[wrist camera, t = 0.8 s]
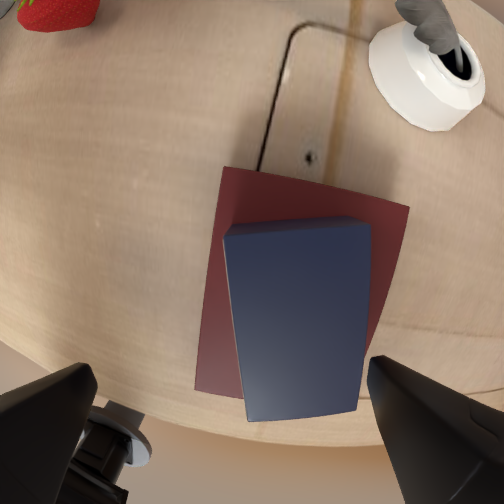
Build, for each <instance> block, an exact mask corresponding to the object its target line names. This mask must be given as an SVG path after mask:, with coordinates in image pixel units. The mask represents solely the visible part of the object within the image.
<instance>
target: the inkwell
mask: <svg viewBox="0 0 504 504" xmlns="http://www.w3.org/2000/svg"><path fill="white" fill-rule="evenodd" d="M395 6H396V8H397V10H398V12H399V14H400V15H401V16H402V17H403V18H404V19H405V20H404V21H402V22H399V23H397V24H394V25H392V26H389V27H387V28H385V29H383V30H380V31H378V33H377V34H376V36H375V37H374V38H373V40H372V41H371V43H370V44H369V67H370V70H371V72H372V75H373V78H374V81H375V84H376V87H377V88H378V90H379V91H380V92H381V94H382V95H383V96H384V98H385V99H386V101H387V102H388V103H389V105H390V106H391V108H393V109H394V110H395V111H396V112H397V113H399V114H400V115H401V116H402V117H403V118H405V119H406V120H407V121H408V122H409V123H410V124H413V125H415V126H418V127H420V128H423V129H426V130H428V131H431V132H432V131H448V130H450V129H451V128H452V127H454V126H455V125H456V124H458V123H459V122H460V121H461V120H463V119H464V118H465V117H466V116H467V115H469V114H470V113H471V112H472V111H473V110H474V109H475V108H476V107H477V106H478V105H479V104H480V103H481V102H482V99H483V96H484V93H485V90H486V89H485V78H484V72H483V70H482V67H481V64H480V62H479V59H478V57H477V55H476V54H475V52H474V50H473V49H472V47H471V46H470V45H469V43H468V42H467V41H466V39H464V38H463V37H462V36H461V35H460V34H459V33H458V32H457V31H456V28H455V26H454V24H453V21H452V19H451V17H450V15H449V13H448V11H447V9H446V7H445V5H444V3H443V2H442V0H397V1H396V2H395Z"/></svg>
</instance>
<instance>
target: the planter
mask: <svg viewBox="0 0 504 504" xmlns="http://www.w3.org/2000/svg"><path fill="white" fill-rule="evenodd" d="M13 3H14V0H0V18H1V17H3V16H4V15H5V14H6V12H7V11H8V10H9V9H10V8H11V6H12V5H13Z"/></svg>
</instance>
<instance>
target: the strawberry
mask: <svg viewBox="0 0 504 504" xmlns="http://www.w3.org/2000/svg"><path fill="white" fill-rule="evenodd" d="M14 1H16V0H14ZM99 4H100V0H21V2H20V4H19V7H18V10H17V11H18V13H17V19H18V22H19V23H20V24H21V25H22V26H23V27H24V28H25V29H27V30H31V31H39V32H47V33H48V32H55V31H63V30H70V29H74V28H79V27H86V26H88V25H90V24H91V23H92V22H93V21H94V18H95V14H96V12H97V9H98V7H99Z"/></svg>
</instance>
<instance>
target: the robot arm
mask: <svg viewBox="0 0 504 504" xmlns="http://www.w3.org/2000/svg"><path fill="white" fill-rule="evenodd" d="M367 386H368V390H369V394H370V398H371V402H372V405H373V409H374V413H375V418H376V421H377V425H378V428H379V431H380V434H381V436H382V439H383V441H384V444H385V447H386V449H387V452H388V455H389V457H390V460H391V463H392V466H393V469H394V471H395V474H396V477H397V480H398V483H399V486H400V489H401V491H402V495H403V498H404V501H405V504H504V412H502V411H499V410H496V409H493V408H491V407H489V406H486V405H484V404H482V403H480V402H478V401H475V400H473V399H471V398H470V399H469V397H467V396H465V395H463V394H461V393H459V392H456V391H454V390H452V389H450V388H448V387H446V386H444V385H442V384H440V383H438V382H436V381H434V380H432V379H430V378H428V377H426V376H424V375H422V374H420V373H418V372H416V371H414V370H412V369H410V368H408V367H406V366H404V365H402V364H400V363H398V362H396V361H394V360H392V359H390V358H389V357H387V356H384V355H381V356H375V357H372V358H371V359H370V362H369V369H368V375H367ZM97 388H98V385H97V381H96V379H95V376H94V374H93V372H92V369H91V367H90V366H89V364H87V363H80V362H79V363H76V364H73V365H71V366H69V367H66V368H64V369H62V370H59V371H57V372H55V373H52V374H50V375H48V376H45V377H43V378H41V379H38V380H36V381H34V382H31V383H29V384H26V385H24V386H21V387H19V388H16V389H14V390H11V391H9V392H6V393H4V394H2V395H0V504H126V501H127V497H128V493H129V492H128V491H127V490H125V489H122V488H120V487H118V486H116V485H115V484H116V481H117V479H118V477H119V475H120V472H121V470H122V468H123V466H124V464H125V463H127V464H129V465H132V464H133V446H132V439H131V438H130V437H128V436H126V435H123V434H121V433H119V432H116V431H114V430H111V429H109V428H107V427H105V426H102V425H100V424H98V423H96V422H94V421H92V420H89V419H88V416H89V413H90V410H91V407H92V403H93V400H94V398H95V395H96V392H97ZM83 430H84V434H85V435H84V437H83V438H82V440H81V441H80V443H79V445H78V446H77V443H78V441H79V439H80V436H81V434H82V432H83ZM76 446H77V448H76ZM75 448H76V449H75Z"/></svg>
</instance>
